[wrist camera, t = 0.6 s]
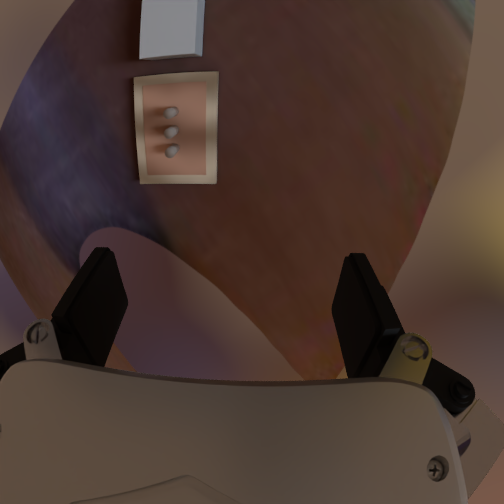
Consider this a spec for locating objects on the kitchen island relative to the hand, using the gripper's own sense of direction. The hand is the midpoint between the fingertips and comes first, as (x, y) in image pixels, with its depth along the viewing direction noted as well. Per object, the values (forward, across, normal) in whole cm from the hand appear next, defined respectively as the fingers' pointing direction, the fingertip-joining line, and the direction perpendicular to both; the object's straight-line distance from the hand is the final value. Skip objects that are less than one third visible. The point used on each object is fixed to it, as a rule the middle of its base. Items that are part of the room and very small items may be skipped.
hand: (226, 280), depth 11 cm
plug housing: (+26, +8, -15) cm, 32 cm away
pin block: (+26, +8, -1) cm, 28 cm away
